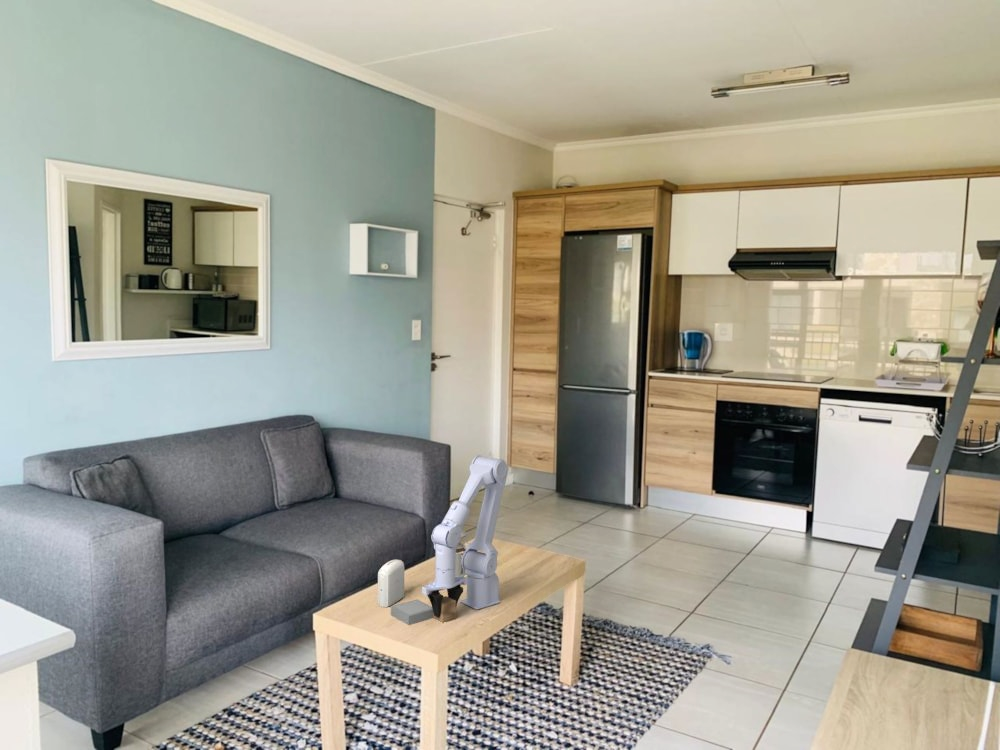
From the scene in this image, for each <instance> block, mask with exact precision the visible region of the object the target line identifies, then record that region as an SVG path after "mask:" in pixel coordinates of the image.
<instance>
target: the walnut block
mask: <svg viewBox="0 0 1000 750" xmlns="http://www.w3.org/2000/svg"><path fill="white" fill-rule="evenodd" d="M456 609H457V606H456V601H455V600H453V599H451V598H449V597H448V595H445V596H443V599H442V603H441V615H440V617H436V616H434V613H433V618H432V619H434V620H435V621H437V620H438V622H439V621H440V622H439V623H441V622H442V624H445V623H444V622H446V623H449V622H452V621H455V620H456V619H457V618H456V615H457V614H456V613H457V612H456Z"/></svg>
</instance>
